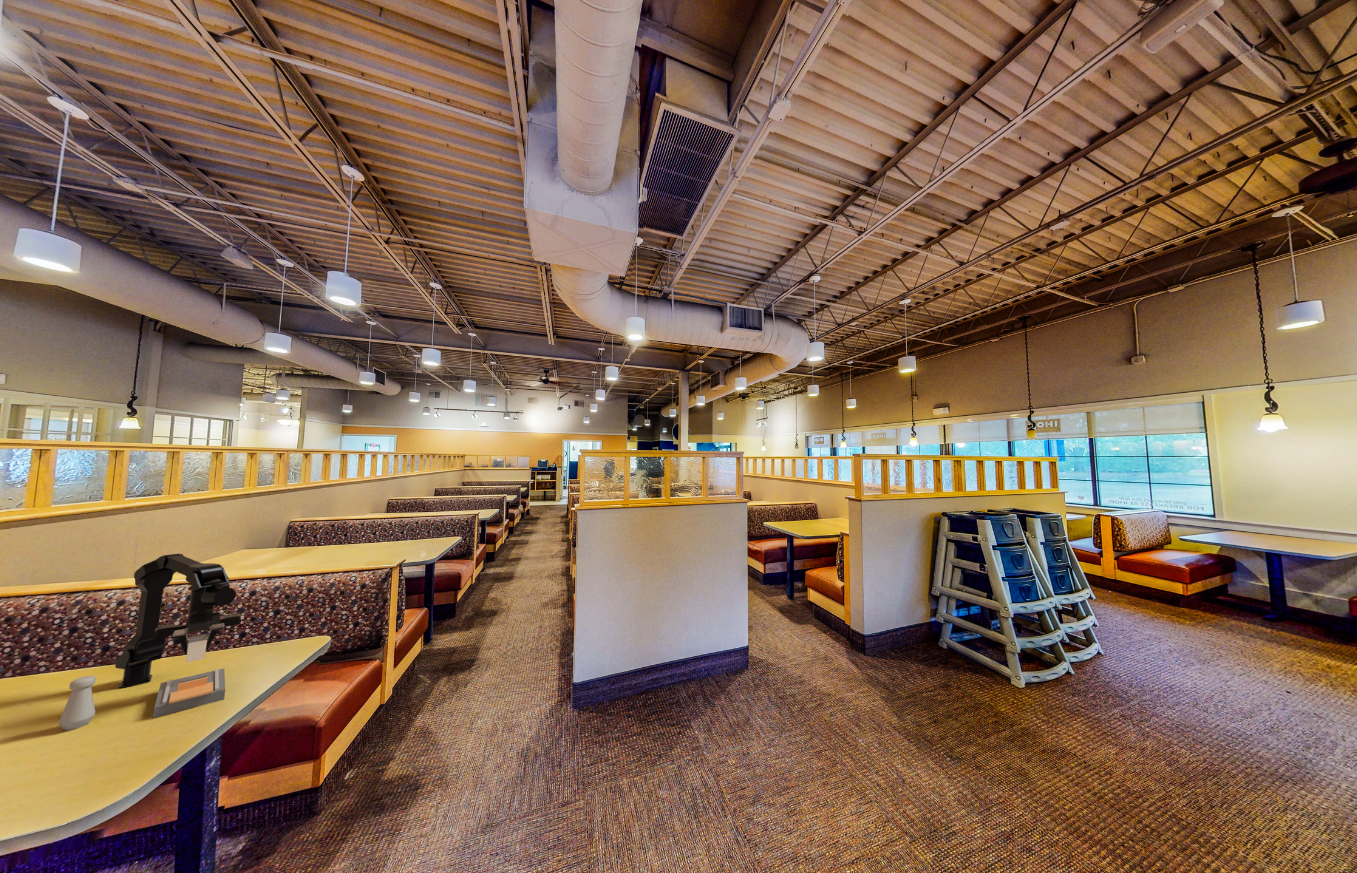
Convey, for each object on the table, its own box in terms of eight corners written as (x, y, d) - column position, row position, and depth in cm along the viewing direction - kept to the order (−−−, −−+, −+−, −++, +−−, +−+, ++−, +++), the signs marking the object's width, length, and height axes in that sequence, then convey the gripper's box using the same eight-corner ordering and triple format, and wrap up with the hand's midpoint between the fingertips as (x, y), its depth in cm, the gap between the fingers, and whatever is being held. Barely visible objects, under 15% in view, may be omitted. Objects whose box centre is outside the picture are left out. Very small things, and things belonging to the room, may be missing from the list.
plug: (185, 662, 132) (188, 640, 133) (186, 658, 135) (189, 636, 136) (204, 658, 135) (207, 636, 136) (204, 655, 138) (207, 633, 139)
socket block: (159, 692, 133) (161, 680, 134) (223, 677, 144) (224, 666, 144) (152, 718, 119) (154, 705, 119) (224, 699, 129) (225, 687, 130)
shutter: (170, 693, 126) (172, 685, 127) (212, 683, 133) (213, 675, 133) (168, 703, 121) (170, 694, 121) (212, 692, 127) (213, 683, 127)
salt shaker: (65, 733, 112) (73, 683, 113) (51, 731, 113) (59, 681, 114) (99, 721, 117) (106, 674, 119) (85, 719, 119) (92, 672, 120)
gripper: (155, 615, 125) (147, 669, 123) (243, 602, 139) (238, 650, 137) (158, 608, 132) (151, 658, 130) (242, 596, 146) (237, 641, 144)
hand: (196, 652), depth 135 cm, fingers closed on plug, 4 cm apart
